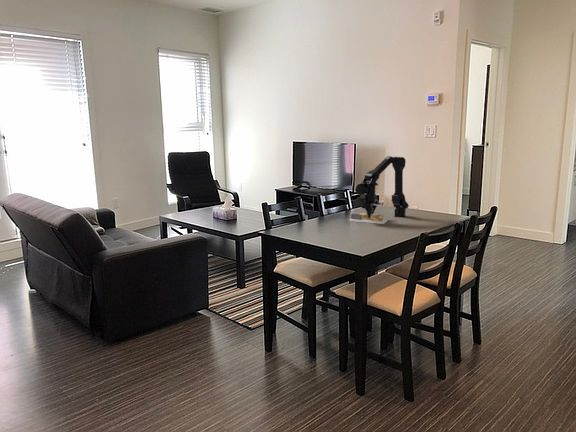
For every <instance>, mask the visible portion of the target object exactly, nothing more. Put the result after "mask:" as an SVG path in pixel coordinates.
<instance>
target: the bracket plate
mask: <svg viewBox="0 0 576 432" xmlns="http://www.w3.org/2000/svg"><path fill="white" fill-rule="evenodd" d="M354 213H355V212H353V213H351V214H350V218H349V222H356V223H358V222H359V223H368V224H378V225H379V224H380V225H385V224H386V222H388V219H386V218H383V220H382V221H375V220H366V219H361V215H356V214H354Z"/></svg>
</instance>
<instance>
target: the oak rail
mask: <svg viewBox="0 0 576 432" xmlns="http://www.w3.org/2000/svg"><path fill="white" fill-rule="evenodd" d="M353 213H354V214H356V215H361V219H366V220H375V221H382V220H383V219H384V215H383V214H375V213H374V214H371V217H370V218H368V215H367V212H366V213H365V212H364V213H363V212H353Z"/></svg>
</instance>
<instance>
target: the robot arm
mask: <svg viewBox="0 0 576 432" xmlns="http://www.w3.org/2000/svg"><path fill="white" fill-rule="evenodd" d="M406 162H407V161H406V158H405V157H404V156H389V155H388V156H385V158H384V159H383V160H382V161H381V162H380V163H379V164H378V165H377V166H376V167H375V168H374V169H372V170H371V169H370V170H369V171H368V172H366V173H365V175H364V176H363V179H362V181H361V182H359V183H357V185H356V187H355V189H354V190H355V193H356V194H357V195H364V196H363V197H361V196H360V197H357V199H356V203H357V205H359V204H360V206H361V207H360V208H361V209H364V210H365V212H366V214H367V215H368V218H370V217H371V214H375V211H376V209H377V208H378V205H380V200H379V199H376V196H377V194H376V186H378V185H379V183H377V181H378V179H379V178H380V175H381V174H382V173H383V172H384V171H385V170H386V169H387V168H388V167H389V166H390V165H391V164H392V165H391V166H392V168H393V170H394V193H393V194H392V195H391V202H392V204H393V205H392V207H394V208H395V209H394V218H406V217H407V209H408V208H409V203H408V202H407V201H406V195H405V193H404V191H403V187H404V186H403V185H404V184H403V181H404V180H403V179H404V177H403V176H404V175H403V174H404V173H403V171H404V169H405V167H406Z"/></svg>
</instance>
